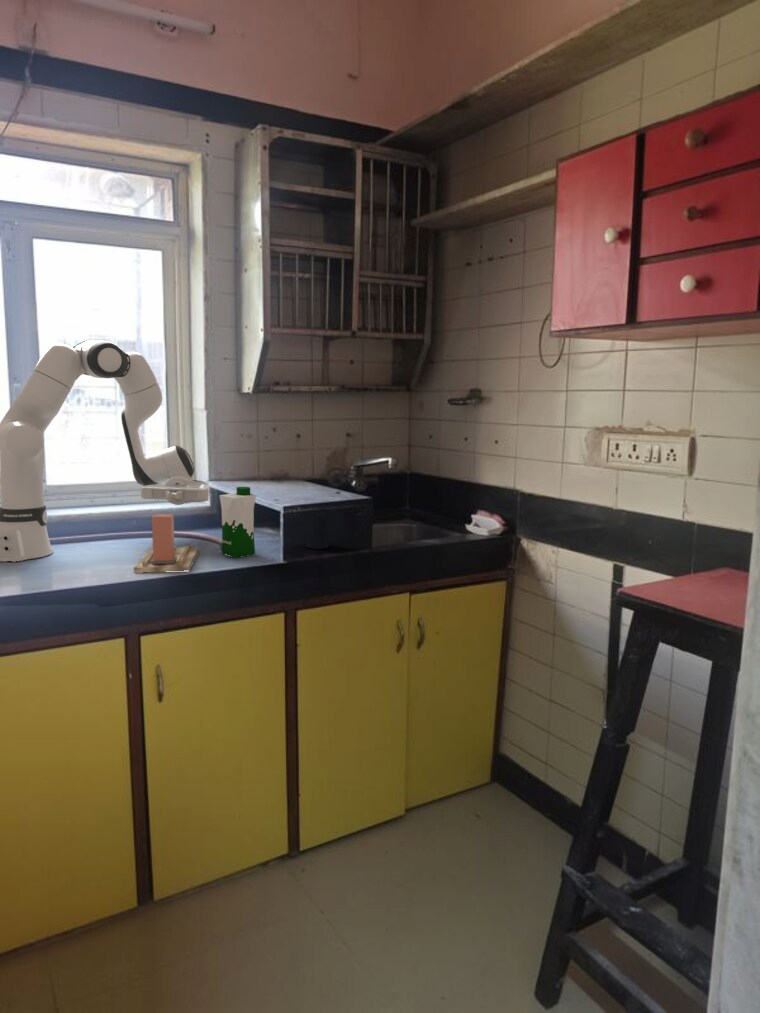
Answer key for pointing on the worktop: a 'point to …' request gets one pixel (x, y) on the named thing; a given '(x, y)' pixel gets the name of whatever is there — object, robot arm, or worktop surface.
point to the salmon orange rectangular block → (163, 539)
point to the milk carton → (238, 523)
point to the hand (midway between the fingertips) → (172, 496)
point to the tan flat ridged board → (182, 563)
